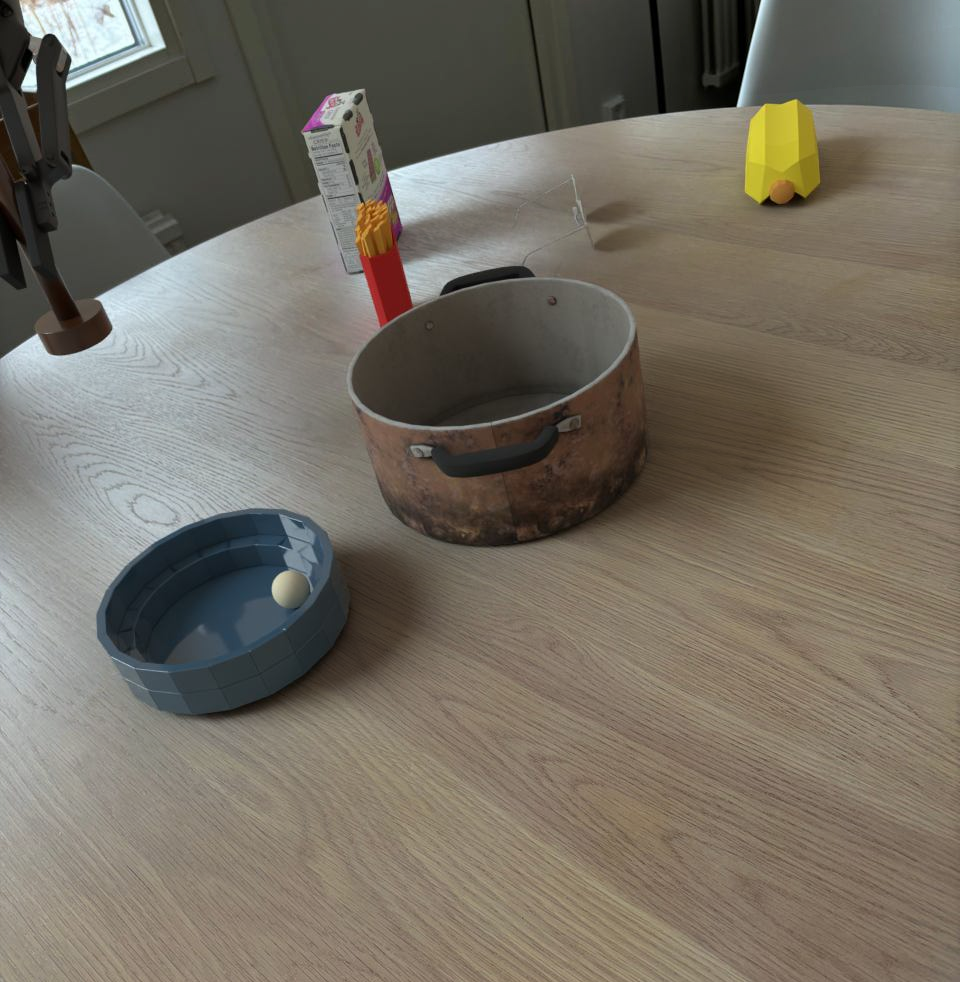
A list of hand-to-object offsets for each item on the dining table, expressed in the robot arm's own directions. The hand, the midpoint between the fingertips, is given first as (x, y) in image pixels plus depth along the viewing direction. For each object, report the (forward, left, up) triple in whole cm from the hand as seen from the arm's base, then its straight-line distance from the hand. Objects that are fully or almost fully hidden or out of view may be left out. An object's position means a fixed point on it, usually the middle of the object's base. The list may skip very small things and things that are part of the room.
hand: (29, 277), depth 78 cm
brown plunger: (+1, +4, -7) cm, 8 cm away
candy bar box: (+30, +40, -22) cm, 55 cm away
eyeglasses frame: (+48, +27, -22) cm, 60 cm away
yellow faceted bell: (+74, +23, -22) cm, 81 cm away
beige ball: (+10, -21, -20) cm, 30 cm away
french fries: (+28, +20, -22) cm, 41 cm away
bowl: (+5, -21, -22) cm, 31 cm away
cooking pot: (+30, -12, -22) cm, 39 cm away
